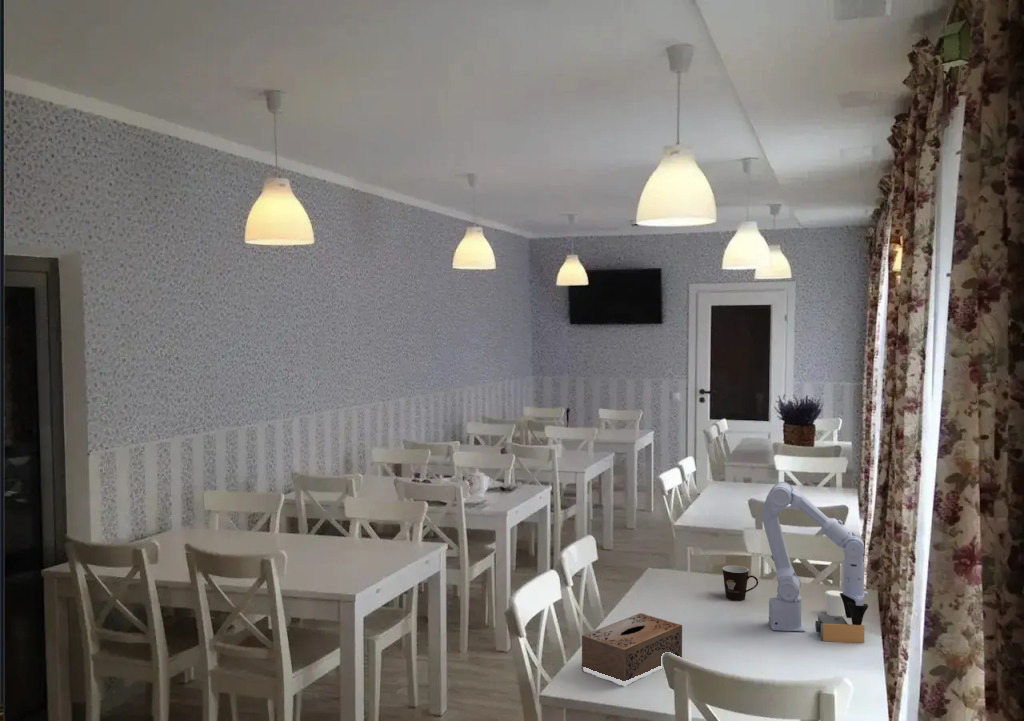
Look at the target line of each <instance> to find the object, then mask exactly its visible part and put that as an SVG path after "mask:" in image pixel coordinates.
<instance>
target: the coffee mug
mask: <svg viewBox="0 0 1024 721" xmlns="http://www.w3.org/2000/svg"><path fill="white" fill-rule="evenodd" d="M749 571H750V569H749V568H747V567H745V566H741V565H725V566H723V567H722V575H723V584H724V592H725V599H726V600H728V601H731V602H732V601H733V602H742V601H745V600H746V595H747V593H748V592H749V591H752V590H754V589H755V588H756V587H757V586H758V585H759V579H758V578H757V577H756V575H755V576H754V575H749ZM750 578H753V579H754V580H755V582H756V584H755V585H753V587H751V588H748V589H747V587H748V586H747V585H748V580H749V579H750Z"/></svg>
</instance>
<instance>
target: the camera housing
mask: <svg viewBox="0 0 1024 721" xmlns="http://www.w3.org/2000/svg"><path fill="white" fill-rule="evenodd" d="M821 623H824V624H848V622H847V621H846V619H845V618H844V617H842V616H829V615H819V614H818V615H817V620H815V623H814V626H815V632H817V633H818V634H819V636H820V637H821Z"/></svg>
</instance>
